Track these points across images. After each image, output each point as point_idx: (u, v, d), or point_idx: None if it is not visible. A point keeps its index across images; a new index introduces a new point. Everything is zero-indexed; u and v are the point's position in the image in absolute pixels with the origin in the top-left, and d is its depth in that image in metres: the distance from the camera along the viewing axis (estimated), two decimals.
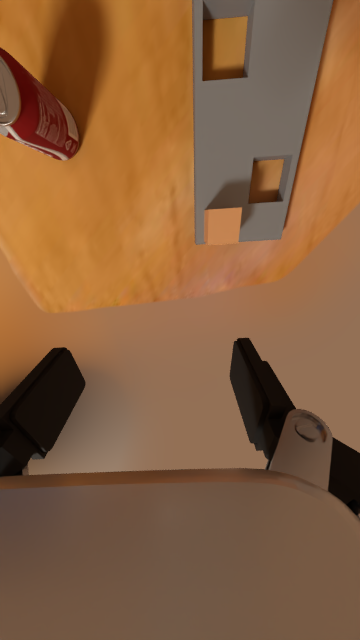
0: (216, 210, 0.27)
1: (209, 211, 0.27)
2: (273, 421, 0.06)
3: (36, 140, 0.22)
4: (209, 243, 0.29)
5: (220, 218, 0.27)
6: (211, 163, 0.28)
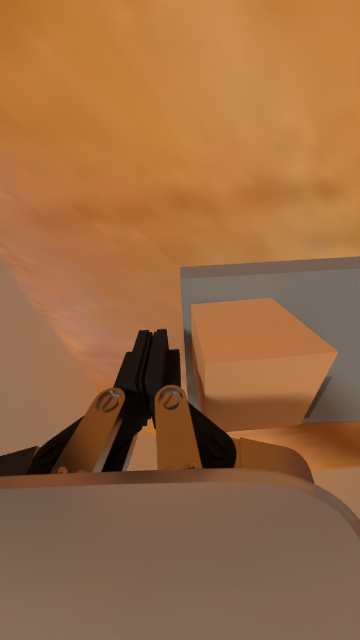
0: (322, 374, 0.07)
1: (329, 354, 0.07)
2: (154, 396, 0.07)
3: None
4: (212, 368, 0.07)
5: (292, 388, 0.08)
6: None
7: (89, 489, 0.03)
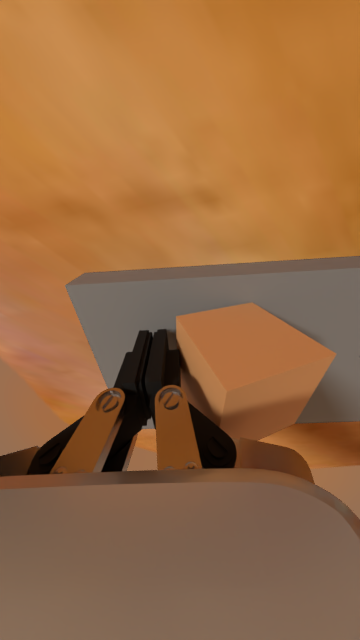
0: (321, 376, 0.07)
1: (329, 357, 0.07)
2: (154, 396, 0.07)
3: None
4: (232, 394, 0.06)
5: (297, 393, 0.08)
6: None
7: (89, 489, 0.03)
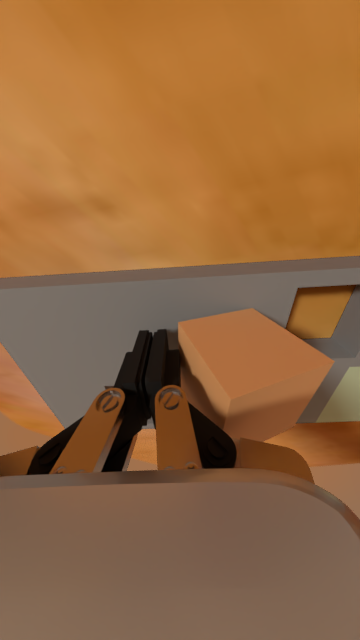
0: (320, 382, 0.08)
1: (328, 364, 0.07)
2: (154, 396, 0.07)
3: None
4: (236, 401, 0.06)
5: (296, 399, 0.08)
6: (161, 317, 0.12)
7: (89, 489, 0.03)
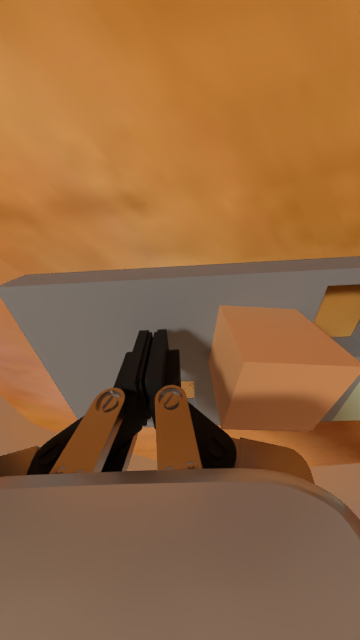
0: (346, 386, 0.08)
1: (357, 368, 0.07)
2: (154, 396, 0.07)
3: None
4: (249, 366, 0.07)
5: (315, 395, 0.08)
6: (189, 314, 0.12)
7: (89, 489, 0.03)
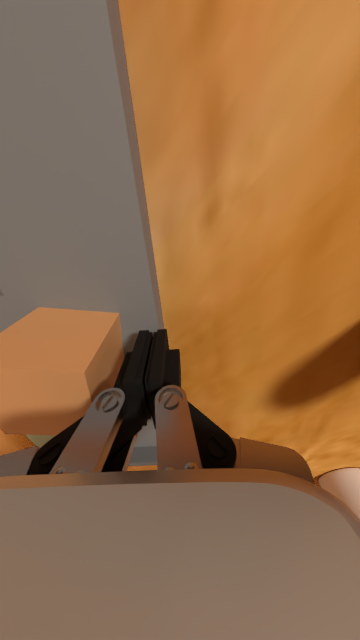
0: None
1: None
2: (154, 396, 0.07)
3: None
4: (78, 376, 0.07)
5: (59, 423, 0.09)
6: (108, 282, 0.10)
7: (89, 489, 0.03)
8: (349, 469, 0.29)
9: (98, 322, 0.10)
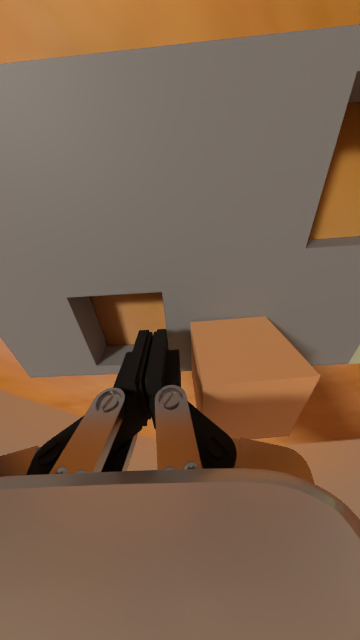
0: (307, 394, 0.08)
1: (313, 377, 0.08)
2: (154, 396, 0.07)
3: None
4: (208, 389, 0.08)
5: (281, 405, 0.08)
6: (135, 149, 0.07)
7: (89, 489, 0.03)
8: None
9: (192, 344, 0.11)
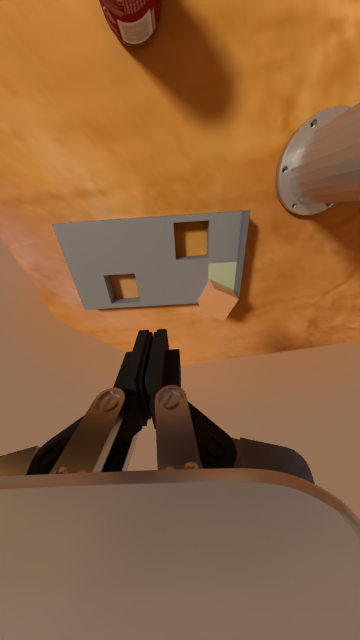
0: (234, 304, 0.32)
1: (237, 299, 0.31)
2: (154, 396, 0.07)
3: None
4: (214, 290, 0.30)
5: (227, 305, 0.32)
6: (125, 236, 0.30)
7: (89, 489, 0.03)
8: None
9: (208, 285, 0.34)
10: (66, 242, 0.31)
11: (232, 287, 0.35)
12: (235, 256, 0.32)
